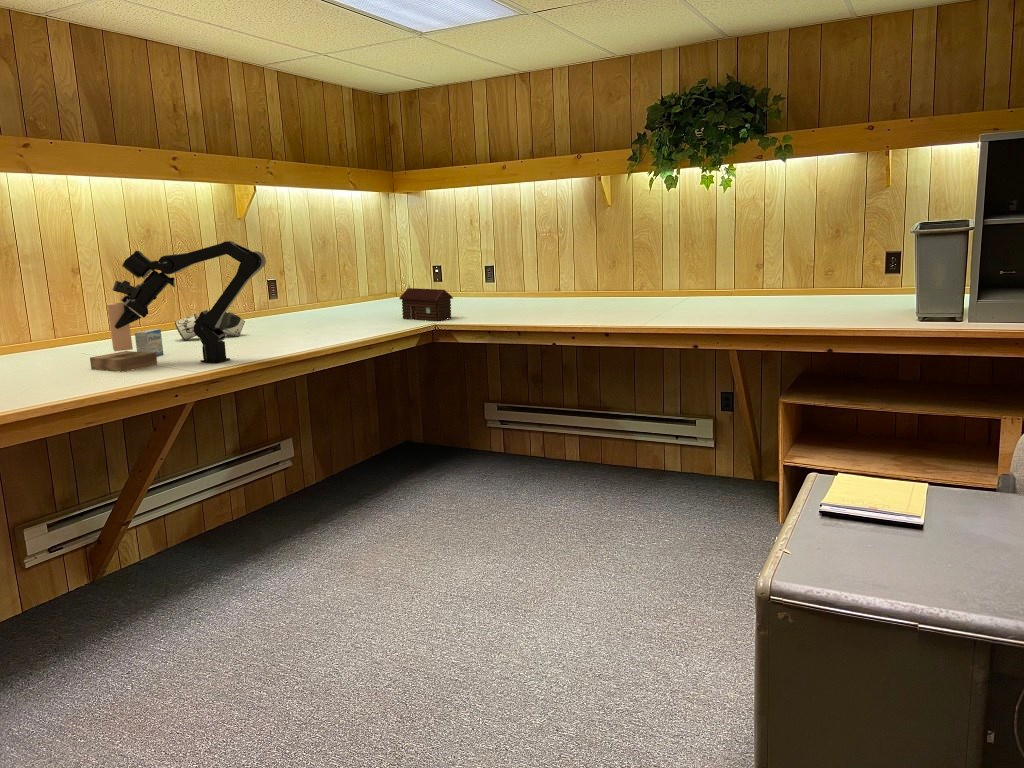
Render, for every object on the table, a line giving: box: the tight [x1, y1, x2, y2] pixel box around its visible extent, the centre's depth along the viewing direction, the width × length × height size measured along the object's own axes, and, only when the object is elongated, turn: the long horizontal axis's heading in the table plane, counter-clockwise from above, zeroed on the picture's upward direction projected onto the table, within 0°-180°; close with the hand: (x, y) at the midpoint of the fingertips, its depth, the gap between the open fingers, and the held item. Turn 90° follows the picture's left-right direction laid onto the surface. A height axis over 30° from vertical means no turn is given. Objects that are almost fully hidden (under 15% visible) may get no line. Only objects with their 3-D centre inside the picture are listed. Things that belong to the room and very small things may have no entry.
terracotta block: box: [106, 301, 134, 352], centre depth 240 cm, size 5×5×14 cm
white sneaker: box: [174, 311, 246, 341], centre depth 299 cm, size 25×10×10 cm, turn 124°
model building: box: [399, 284, 454, 322], centre depth 348 cm, size 21×12×15 cm, turn 57°
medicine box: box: [134, 328, 164, 357], centre depth 260 cm, size 8×4×9 cm, turn 170°
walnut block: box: [89, 350, 158, 373], centre depth 242 cm, size 13×13×4 cm
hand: (115, 327), depth 239 cm, fingers closed on terracotta block, 5 cm apart
